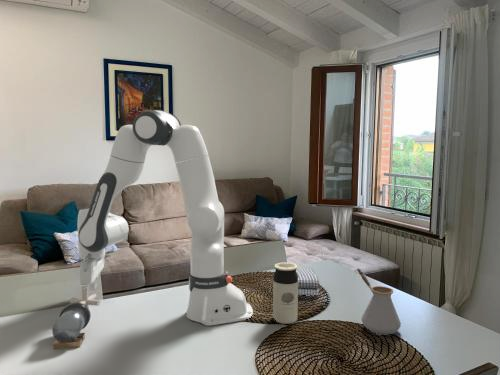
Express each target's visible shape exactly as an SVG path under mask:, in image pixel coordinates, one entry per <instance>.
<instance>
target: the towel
mask: <svg viewBox="0 0 500 375" xmlns="http://www.w3.org/2000/svg"><path fill="white" fill-rule="evenodd" d="M296 273H297V275H298V295H319V287H320V281H319V277H318V275H317V274H316V273H315V272H314V270H313V269H312V268H311V269H310V268H297V269H296Z"/></svg>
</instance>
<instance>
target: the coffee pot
mask: <svg viewBox="0 0 500 375" xmlns="http://www.w3.org/2000/svg"><path fill="white" fill-rule="evenodd" d="M356 271H357V272H356ZM357 273H358V274H359V275H360V276H361V279H362V280H363V282H364V283H365V284H366V286H367V287H368V288H369V290H370V291H371V292H372V296H371V299H369V300H370V301H369V303H368V305H367V306H366V309H365V310H364V312H363V314H362V315H361V316H362V317H361V322H362V324H363V325H364V327H365V328H366V329H367V330H368V329H369V330H370V331H372V332H374V333H377V334H383V335H388V334H392V335H393V334H394V333H396V332H398V331H399V329H400V328H401V324H402V323H401V319H400V318H399V315H398V312H397V310H396V308H395V305H394V303H393V299H392V297H391V296H392V294H393V293H394V289H393V288H391V287H387V286H380V285H377V286H372V285H371V283H370V281H369V280H368V278H367V277H366V276H365V275H364V273H363V271H362V269H360V268H356V269H354V274H357ZM369 330H368V331H369ZM370 331H369V332H370ZM374 333H373V334H374ZM377 334H376V335H377ZM388 336H389V335H388Z"/></svg>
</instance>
